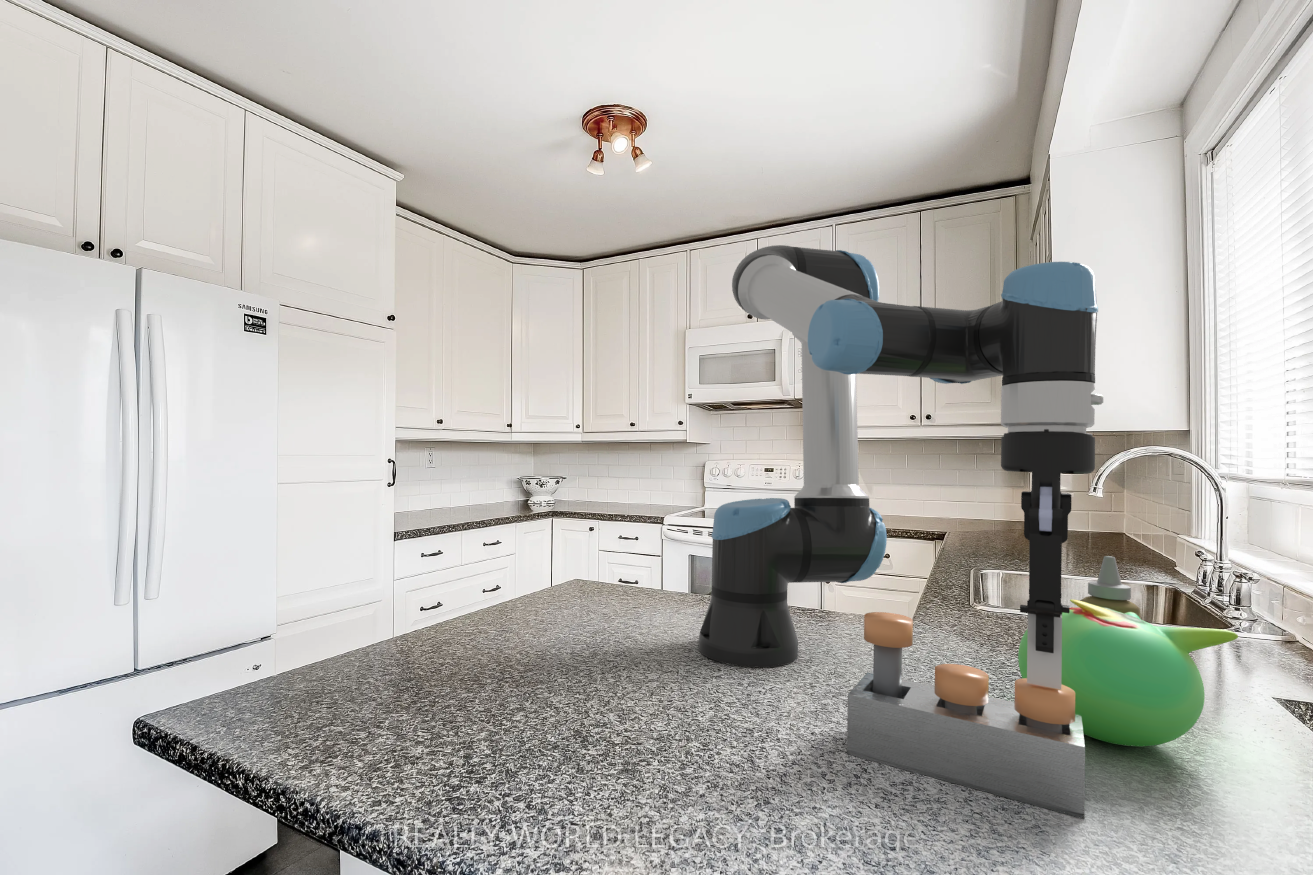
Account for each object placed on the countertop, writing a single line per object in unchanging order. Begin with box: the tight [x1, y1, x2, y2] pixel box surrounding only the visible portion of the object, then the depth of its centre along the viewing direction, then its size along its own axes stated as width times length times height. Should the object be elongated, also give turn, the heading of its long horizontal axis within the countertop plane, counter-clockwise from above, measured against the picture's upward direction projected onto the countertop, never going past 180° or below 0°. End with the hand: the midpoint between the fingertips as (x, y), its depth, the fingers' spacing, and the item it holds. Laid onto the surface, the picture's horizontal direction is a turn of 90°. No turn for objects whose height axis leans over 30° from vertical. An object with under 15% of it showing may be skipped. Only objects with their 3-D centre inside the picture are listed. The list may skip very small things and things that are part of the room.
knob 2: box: [1014, 677, 1075, 734], centre depth 58 cm, size 5×5×8 cm
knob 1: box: [863, 611, 914, 699], centre depth 66 cm, size 5×5×8 cm
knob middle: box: [934, 663, 990, 715], centre depth 62 cm, size 5×5×8 cm
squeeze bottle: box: [1079, 555, 1142, 620], centre depth 83 cm, size 8×8×18 cm
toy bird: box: [1017, 598, 1239, 747], centre depth 70 cm, size 18×17×15 cm
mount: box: [846, 672, 1086, 820], centre depth 62 cm, size 20×8×6 cm, turn 58°
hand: (1044, 683), depth 59 cm, fingers closed
